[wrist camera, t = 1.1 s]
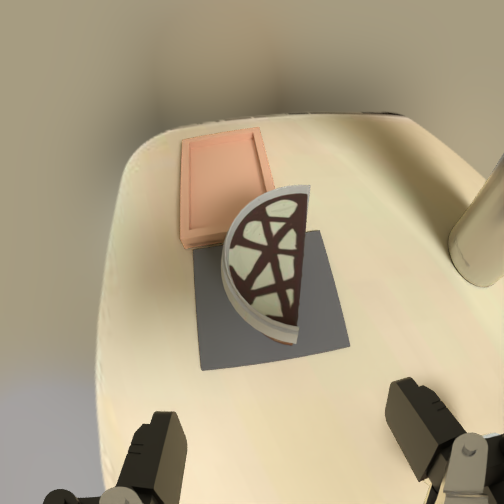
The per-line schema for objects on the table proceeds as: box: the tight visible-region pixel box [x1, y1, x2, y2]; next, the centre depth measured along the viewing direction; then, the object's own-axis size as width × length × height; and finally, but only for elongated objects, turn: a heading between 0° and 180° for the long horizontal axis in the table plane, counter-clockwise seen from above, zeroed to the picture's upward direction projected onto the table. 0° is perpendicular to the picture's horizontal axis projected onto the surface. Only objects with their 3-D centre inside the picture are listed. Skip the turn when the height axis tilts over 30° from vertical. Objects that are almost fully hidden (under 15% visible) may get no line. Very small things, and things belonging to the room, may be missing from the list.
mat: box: [193, 230, 350, 371], centre depth 29 cm, size 14×13×1 cm
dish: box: [180, 127, 275, 249], centre depth 36 cm, size 11×17×2 cm, turn 8°
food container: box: [221, 185, 310, 346], centre depth 25 cm, size 12×6×10 cm, turn 171°
